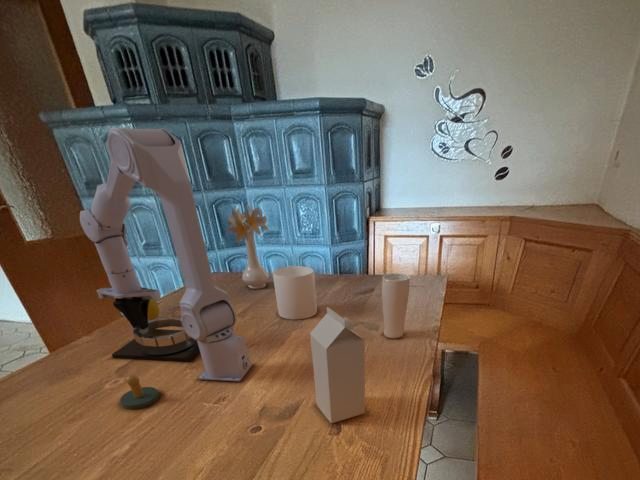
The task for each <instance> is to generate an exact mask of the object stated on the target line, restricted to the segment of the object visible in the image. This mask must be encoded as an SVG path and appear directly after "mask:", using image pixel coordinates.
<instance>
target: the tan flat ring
mask: <svg viewBox="0 0 640 480" xmlns="http://www.w3.org/2000/svg"><path fill="white" fill-rule="evenodd" d="M170 327H174V328H175V327H177V328H183V325H182V321H181V317H176V316H166V317H156V318H155V319H153V320H149V319H148V327H147V328H146V329H144V330H143V329H141V328H140V326H139V325H138V326H136V327H135V328H133V329H132V330H133V331H132V335H133V338H134V339H135V341H136V342H138V343H139V344H141V345H144V346H154V347H157V346H159V347H160V346H168V345H173V344H177V343H180V342H183V341H186V340H187V339H189V338H190V336H189V335H188V334H187V333H186V331H185V330H184V328H183V329H181V330H182V331H180V332H177V333H174V334H171V335H165V336H157V337H156V336H145V335H144V334H145V333H147V332H148V331H151V330H154V329H161V328H170Z"/></svg>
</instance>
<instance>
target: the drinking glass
mask: <svg viewBox="0 0 640 480" xmlns="http://www.w3.org/2000/svg"><path fill="white" fill-rule="evenodd" d="M381 279H382V281H381V304H382V305H381V306H382V320H383V321H382V322H383V335H384V337H386V338H387V339H399V338H401V337H403V335H404V332H405V323H406V316H407V308H408V303H409V296H410V285H411V284H410V275H408V274H407V273H406V274H405V273H399V272H393V273H391V272H390V273H386V274H383V276H382V278H381Z"/></svg>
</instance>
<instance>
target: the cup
mask: <svg viewBox="0 0 640 480" xmlns="http://www.w3.org/2000/svg"><path fill="white" fill-rule="evenodd" d="M272 280H273V286H274V291H275V299H276V300H275V301H276V306H277V313H278V316H279V317H281V318H283V319H286V320H293V321H294V320H304V319H309V318H312V317H314V316H315V315H316V314H317V313H318V307H317V295H316V294H317V293H316V292H317V291H316V280H315V270H314V269H313V268H311V267H309V266H301V265H291V266H283V267H279V268H277V269H274V270H273V272H272Z"/></svg>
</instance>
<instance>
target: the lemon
mask: <svg viewBox="0 0 640 480" xmlns="http://www.w3.org/2000/svg"><path fill="white" fill-rule="evenodd" d="M159 315H160V306H159V303H158V302H157V301H154V300H152V299H150V301H149V305H148V321H149V320H153V319H157V318H158V317H159Z"/></svg>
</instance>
